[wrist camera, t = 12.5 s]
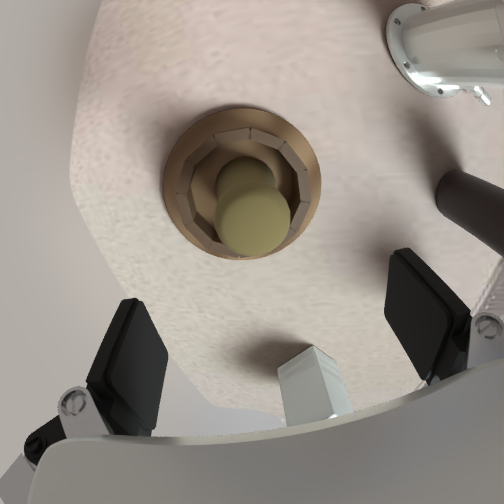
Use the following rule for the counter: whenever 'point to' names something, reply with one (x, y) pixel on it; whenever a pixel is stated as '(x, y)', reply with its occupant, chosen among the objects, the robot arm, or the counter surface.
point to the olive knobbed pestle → (250, 207)
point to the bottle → (474, 207)
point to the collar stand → (228, 148)
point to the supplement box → (312, 388)
